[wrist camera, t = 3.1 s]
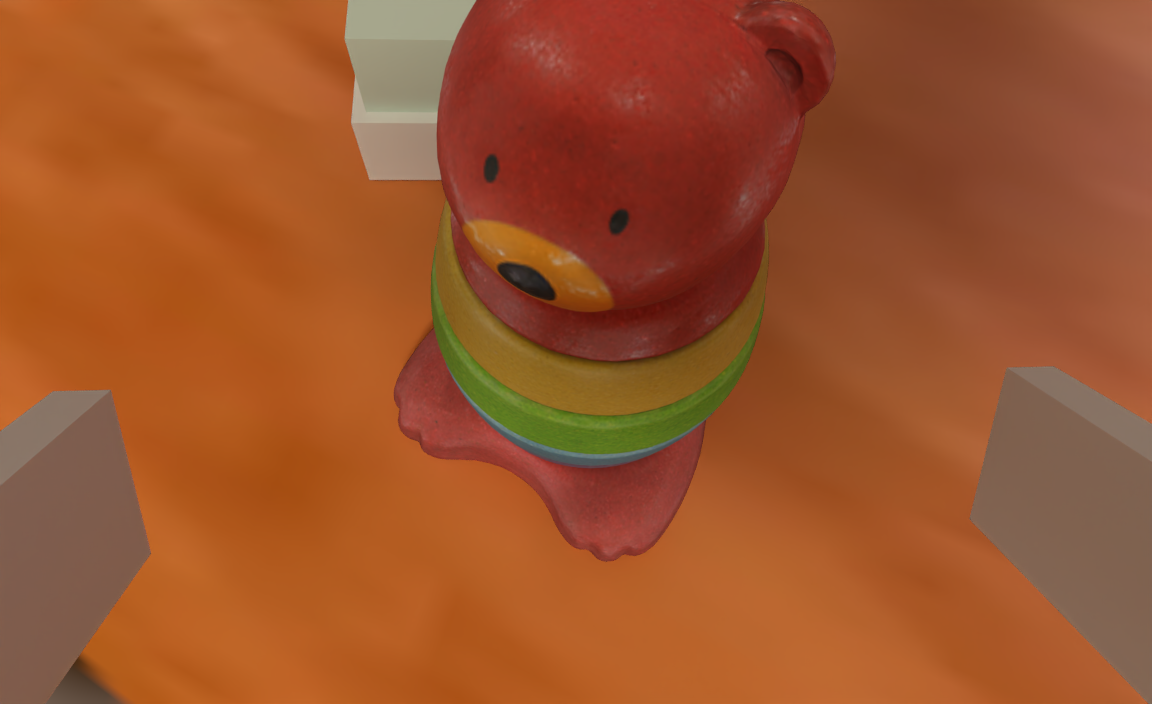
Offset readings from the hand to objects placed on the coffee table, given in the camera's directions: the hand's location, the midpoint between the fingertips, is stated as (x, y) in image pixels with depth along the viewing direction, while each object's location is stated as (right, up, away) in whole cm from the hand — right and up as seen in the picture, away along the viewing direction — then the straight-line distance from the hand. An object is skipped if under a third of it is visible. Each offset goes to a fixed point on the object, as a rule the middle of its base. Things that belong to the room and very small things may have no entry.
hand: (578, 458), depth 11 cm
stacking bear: (0, 0, +17) cm, 17 cm away
